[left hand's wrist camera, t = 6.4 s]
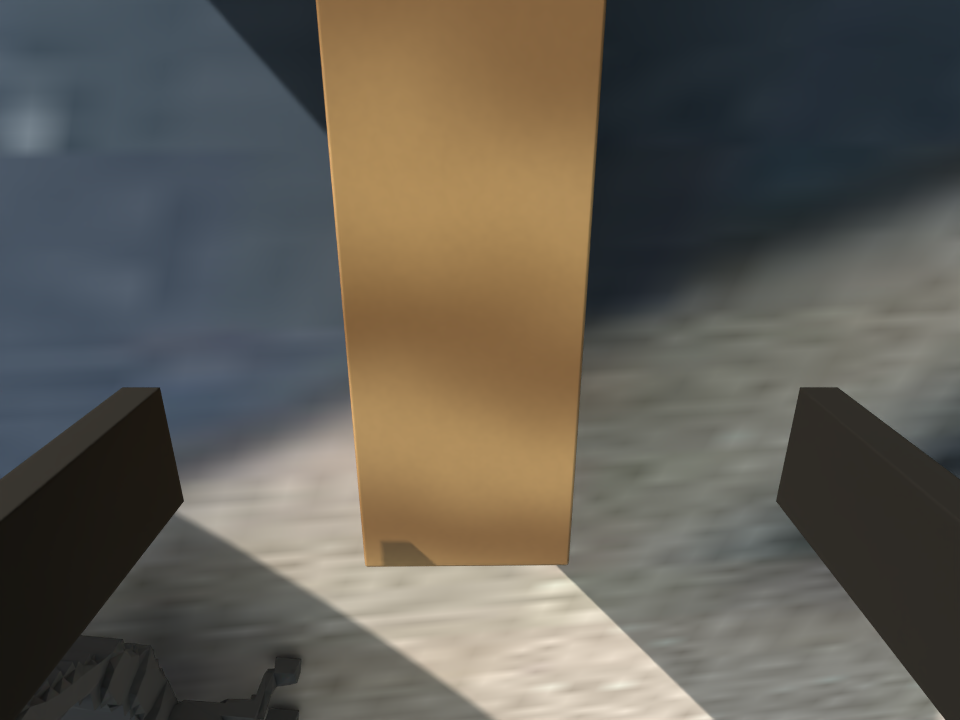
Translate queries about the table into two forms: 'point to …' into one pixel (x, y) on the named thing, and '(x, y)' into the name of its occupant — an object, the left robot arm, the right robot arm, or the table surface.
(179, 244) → the table surface
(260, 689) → the toy
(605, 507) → the table surface
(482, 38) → the oak beam
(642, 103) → the table surface
